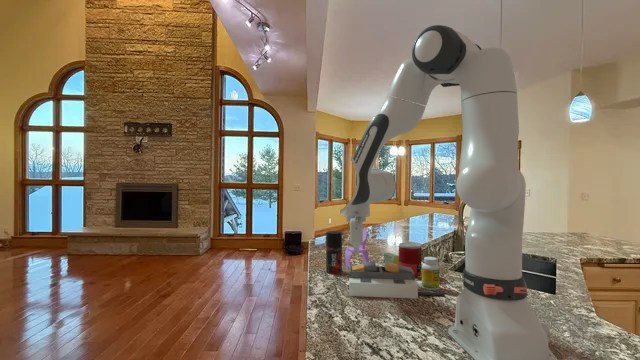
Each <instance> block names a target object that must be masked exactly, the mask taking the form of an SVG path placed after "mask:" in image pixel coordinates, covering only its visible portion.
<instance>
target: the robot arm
mask: <svg viewBox="0 0 640 360" xmlns="http://www.w3.org/2000/svg"><path fill="white" fill-rule="evenodd" d="M411 49H412V50H411V58H408V59H405V60H404V61H402V62H401V63H400V65H399V67H398V69H397V71H396V72H395V75H394V76H393V79H392V81H391V83H390V87H389V89H388V90H387V91H388V92H387V95H386V97H385V100H384V102H383V105H382V107H381V108H380V110H379V111H378V113H377V114H376V115H375V116H373V118H372V119H371V120H370V121H369V123H368V125H367V127H366V128H365V131H364V132H363V135H362V137H361V139H360V141H359V144H358V145H357V149H356V151H355V152H354V155H353V156H352V160H353V162H354V164H355V166H356V170H357V173H358V187H357V190H356V194H355V196H354V198H353V200H352V201H351V202H350V204H349V205H348V206H347V207H346V208H345V209H344V210H342V211H341V214H342V216H343V217H345V218H346V219H345V221H346V222H348V223H349V235H350V236H349V238H350V241H349V243H350V244H351V245H352V247H353V248H354V255H359V254H360V252H359V247H360V245H362V243H363V229H364V227H363V223H364V222H366V221H367V217H370V216H371V210H370V209H371V208H370V206H371V204H370V203H377V202H378V203H379V202H385V201H389V200H390V199H392V198H393V196H394V195H395V192H396V189H397V188H396V187H397V184H396V183H397V182H396V179H395V177H394V176H393V174H392V173H390V172H389V171H387V170H383V169H379V168H377V167H375V163H376V160H377V158H378V157H379V154H380V152H381V150H382V149H383V147H384V145H385V144H387V143H388V142H389V141H391V140H393V139H394V138H395V137H398V136H401V135H404V134H407V133H410V132H411V131H413V130H414V129H416V128H417V126H418V124H419V123H420V121H421V120H422V118H423V116H424V114H425V110H426V107H427V105H428V102H429V99H430V96H431V94H432V91H433V90H434V89H435V88H436V87H437V86H439V85H441V87H443V88H447V87H458V86H459V88H460V101H461V104H460V106H461V124H462V125H461V126H462V139H461V140H462V142H461V151H460V155H459V156H460V157H459V169H458V176H457V178H456V182H455V183H456V184H455V186H456V187H455V188H456V193H457V195H458V197H459V199H460V200H461V202H462V203H464V204H465V205H467V207H469V208H470V212H469V219H468V223H467V224H468V225H467V229H466V232H465V235H464V237H465V240H464V241H465V242H464V245H465V246H464V247H465V248H464V249H465V250H464V251H465V253H464V256H465V258H464V259H465V260H464V262H465V264H464V265H465V267H464V268H463V270H462V271H463V272H462V285H463V288H462V290H461V291H460V293H459V294H458V295H457V296H456V299H455V300H456V302H455V317H454V325H451V326H450V327H448V330H447V333H448V334H449V336H450V337H451V338H452V339H453V340H454V341H455V342H456V343H457V344H458V345H460V347H461V348H463V349H464V350H465V352H466V353H468V355H470V356H471V357H472V358H473V359H474V360H559V359H557V356H555V354H554V353H553V351H552V350H551V349H550V346H549V338H548V337H549V336H550V332H551V331H550V330H551V329H550V327H549V325H548V323H545V322H544V323H543V322H541V321H540V319H539V317H538V314H537V310H535V309H533V307H532V306H531V304H530V302H529V300H528V295H529V294H528V291H527V290H528V287H527V283H526V281H525V277H524V275H523V232H524V223H525V221H524V220H525V207H526V186H527V185H526V180H525V176H524V174H523V173H522V171H520V169H518V151H519V150H518V147H519V135H520V126H519V124H520V123H519V106H518V104H519V103H518V90H517V79H516V76H515V71H514V66H513V62H512V59H511V57H510V54H509V53H508V51H506V50H505V49H502V48H499V47H486V48H481V47H480V45H478V44H477V43H474V41H473V40H471V39H470V38H469V37H468V36H467V35H465V34H463V33H461V32H459V31H456V30H454V29H453V28H452V27H449V26H446V25H441V24H435V25H431V26H428V27H426V28H425V29H423V30H422V31H421V32H420V33H419V34H418V36H417V37H416V38H415V40H414V42H413V45H412V48H411Z"/></svg>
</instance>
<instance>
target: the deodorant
mask: <svg viewBox="0 0 640 360" xmlns="http://www.w3.org/2000/svg"><path fill="white" fill-rule="evenodd" d="M325 237H326V238H325V249H326V250H325V253H326V254H325V263H326V264H325V273H326V274H329V275H340V274H342V273H343V232H342V231H340V230H330V231H326V233H325Z"/></svg>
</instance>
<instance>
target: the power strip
mask: <svg viewBox="0 0 640 360" xmlns="http://www.w3.org/2000/svg"><path fill="white" fill-rule="evenodd" d="M352 266H353V265H351V266H350V268H348V269H349V271H348V273H349V274H348V277H349V279H348V287H349V288H348V296H349V297H368V298H370V297H371V298H391V299H392V298H395V299H413V300H414V299H416V300H417V299H419V297H418V296H432V297H444V296H445V295H446V294H445V292H440V291H439V292H438V291H437V292H435V291H419V290H418V289H419V287H418V286H419V285H418V282H417V281H416V280H415V279H416V277H415V273H414V272H413V270H412V269H411V267H408V268H409V269H410V271H411V273H397V272H389V271H386V270H385V267H384V266H379V265H378V266H377V265H376V268H377V270H376V271H371V272H365V271H352Z"/></svg>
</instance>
